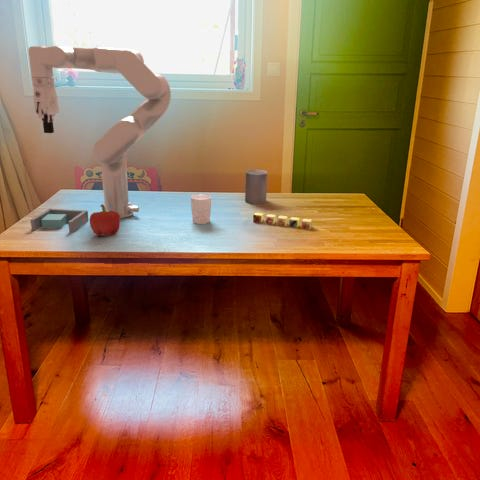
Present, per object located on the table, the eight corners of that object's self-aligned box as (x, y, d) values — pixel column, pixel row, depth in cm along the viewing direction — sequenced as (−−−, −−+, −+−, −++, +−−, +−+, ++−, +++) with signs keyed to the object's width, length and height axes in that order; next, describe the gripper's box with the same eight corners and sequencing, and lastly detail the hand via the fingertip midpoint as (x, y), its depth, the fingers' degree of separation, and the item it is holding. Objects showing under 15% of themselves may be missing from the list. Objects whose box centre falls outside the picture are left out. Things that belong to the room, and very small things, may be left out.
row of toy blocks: (256, 211, 203) (256, 203, 202) (331, 220, 193) (331, 212, 191) (229, 234, 174) (229, 225, 173) (315, 246, 164) (315, 237, 163)
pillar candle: (243, 198, 219) (244, 166, 214) (264, 198, 220) (265, 166, 215) (246, 204, 210) (247, 171, 205) (268, 204, 211) (269, 171, 206)
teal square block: (67, 222, 182) (66, 214, 181) (61, 228, 176) (60, 219, 174) (48, 222, 182) (47, 214, 181) (42, 228, 175) (41, 219, 174)
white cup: (215, 221, 187) (215, 197, 183) (200, 226, 181) (200, 200, 178) (201, 217, 192) (201, 193, 188) (187, 221, 186) (186, 196, 183)
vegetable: (89, 231, 173) (86, 204, 170) (117, 227, 177) (115, 201, 174) (93, 240, 164) (90, 213, 160) (123, 237, 168) (121, 210, 164)
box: (88, 220, 184) (87, 210, 183) (72, 232, 171) (71, 221, 170) (50, 218, 186) (49, 208, 184) (31, 230, 173) (30, 219, 171)
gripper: (42, 83, 168) (49, 135, 174) (62, 81, 182) (67, 130, 188) (22, 82, 168) (29, 135, 175) (43, 81, 182) (49, 130, 189)
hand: (49, 132), depth 181 cm, fingers closed
